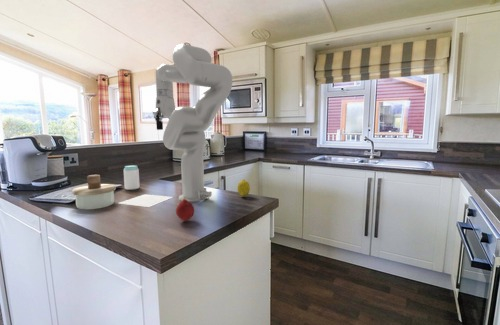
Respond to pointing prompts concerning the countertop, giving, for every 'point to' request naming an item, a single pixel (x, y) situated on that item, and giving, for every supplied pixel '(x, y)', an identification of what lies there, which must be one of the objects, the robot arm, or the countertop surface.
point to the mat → (145, 200)
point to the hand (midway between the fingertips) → (166, 129)
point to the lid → (94, 187)
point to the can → (131, 177)
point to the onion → (185, 210)
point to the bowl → (94, 200)
